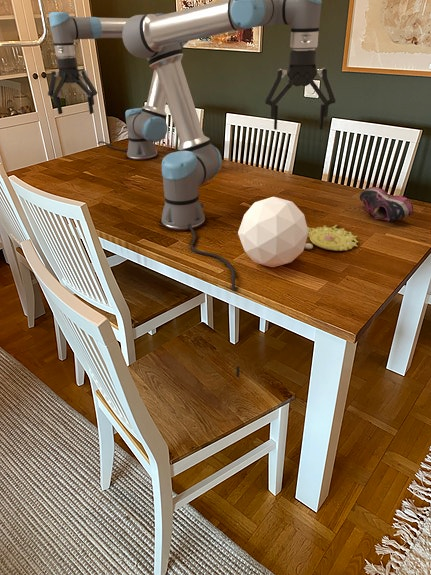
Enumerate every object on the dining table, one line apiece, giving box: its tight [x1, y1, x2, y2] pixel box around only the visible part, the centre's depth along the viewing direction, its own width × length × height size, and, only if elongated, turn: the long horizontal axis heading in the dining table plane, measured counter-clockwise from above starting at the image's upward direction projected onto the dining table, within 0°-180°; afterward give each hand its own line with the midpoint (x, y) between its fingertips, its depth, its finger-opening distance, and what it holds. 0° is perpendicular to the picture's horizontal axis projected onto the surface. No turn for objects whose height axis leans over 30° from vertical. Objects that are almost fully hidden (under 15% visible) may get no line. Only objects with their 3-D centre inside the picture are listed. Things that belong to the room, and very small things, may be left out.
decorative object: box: [304, 224, 359, 252], centre depth 141 cm, size 21×2×20 cm
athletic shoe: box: [359, 186, 414, 223], centre depth 153 cm, size 11×22×12 cm
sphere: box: [237, 196, 309, 268], centre depth 125 cm, size 19×20×20 cm
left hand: (76, 113), depth 188 cm, fingers open, 13 cm apart
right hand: (297, 128), depth 134 cm, fingers open, 13 cm apart
